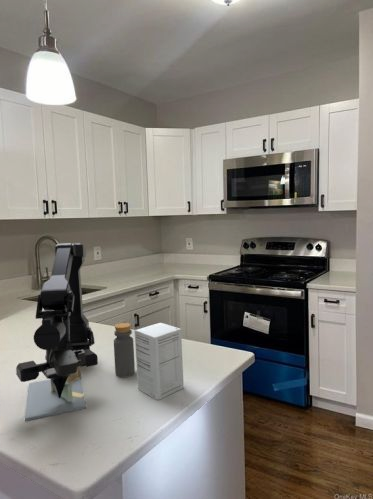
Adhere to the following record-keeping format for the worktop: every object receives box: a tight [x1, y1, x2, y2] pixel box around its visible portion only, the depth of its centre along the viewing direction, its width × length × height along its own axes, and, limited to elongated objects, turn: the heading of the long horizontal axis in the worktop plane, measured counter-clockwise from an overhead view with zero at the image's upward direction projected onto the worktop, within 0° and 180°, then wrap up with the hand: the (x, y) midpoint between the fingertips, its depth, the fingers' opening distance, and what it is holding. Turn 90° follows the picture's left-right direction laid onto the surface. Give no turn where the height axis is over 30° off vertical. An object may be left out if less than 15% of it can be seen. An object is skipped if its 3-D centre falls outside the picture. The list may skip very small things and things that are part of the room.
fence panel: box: [61, 382, 73, 402], centre depth 95 cm, size 8×1×4 cm, turn 43°
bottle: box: [113, 322, 136, 378], centre depth 109 cm, size 6×6×15 cm
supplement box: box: [134, 322, 185, 401], centre depth 98 cm, size 10×9×17 cm
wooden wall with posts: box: [51, 366, 82, 392], centre depth 103 cm, size 2×11×5 cm, turn 157°
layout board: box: [24, 375, 87, 422], centre depth 97 cm, size 14×20×1 cm
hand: (59, 397), depth 91 cm, fingers closed
